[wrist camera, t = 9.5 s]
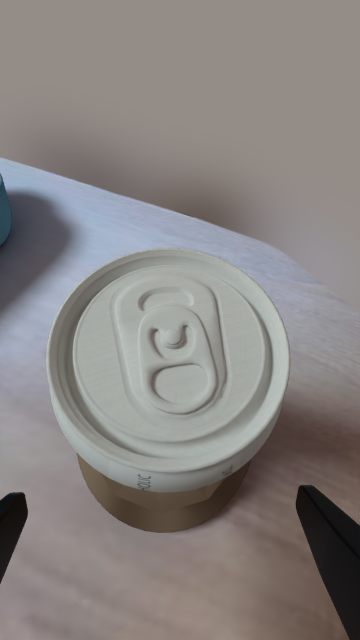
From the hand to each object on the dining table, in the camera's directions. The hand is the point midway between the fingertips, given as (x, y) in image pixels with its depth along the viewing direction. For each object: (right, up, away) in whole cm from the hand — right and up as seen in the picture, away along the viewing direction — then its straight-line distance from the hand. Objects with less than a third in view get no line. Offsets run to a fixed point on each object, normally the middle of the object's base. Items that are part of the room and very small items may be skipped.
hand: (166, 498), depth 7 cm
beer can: (-1, -2, +11) cm, 11 cm away
